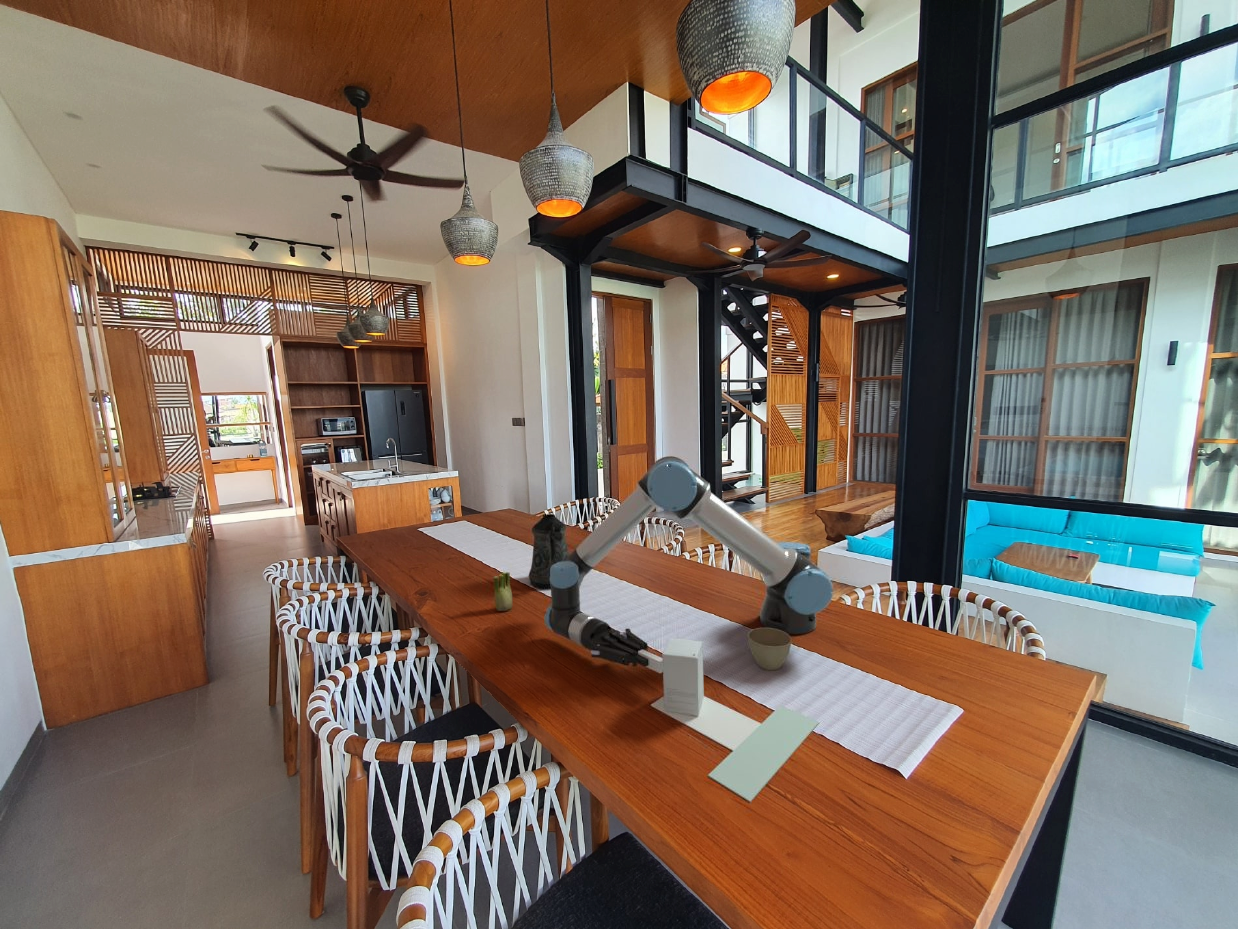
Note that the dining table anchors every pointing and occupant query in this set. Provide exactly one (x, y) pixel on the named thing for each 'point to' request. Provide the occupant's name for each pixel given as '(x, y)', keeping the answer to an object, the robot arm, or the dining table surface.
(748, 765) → the t mat
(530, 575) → the beer stein
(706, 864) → the dining table surface
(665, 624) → the dining table surface
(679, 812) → the dining table surface
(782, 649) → the flower pot
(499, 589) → the fennel bulb
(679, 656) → the supplement box
